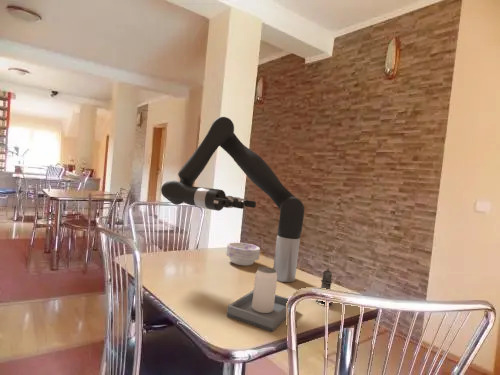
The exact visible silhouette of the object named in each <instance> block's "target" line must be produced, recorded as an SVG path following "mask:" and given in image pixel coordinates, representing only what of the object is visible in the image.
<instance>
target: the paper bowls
mask: <svg viewBox="0 0 500 375" xmlns="http://www.w3.org/2000/svg"><path fill="white" fill-rule="evenodd" d="M225 252H226V253H225V254H226V256H227V257H229V260H230V262H231V263H232V264H235V265H237V266H251V265H253V264H254V263H255V261H258V260H259V259H260V253H261V248H260V247H259V246H257V245H255V244H252V243H247V242H238V241H237V242H235V241H234V242H229V243H227V245H226V251H225Z"/></svg>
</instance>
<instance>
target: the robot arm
mask: <svg viewBox="0 0 500 375" xmlns="http://www.w3.org/2000/svg"><path fill="white" fill-rule="evenodd" d="M206 133H207V134H206V135H205V137H204V138H203V140H202V141H201V143H200V144H199V145H198V147H197V148H196V150H194V151H193V153H192V155H191V156H190V157H189V158H188V159H187V161H186V162H185V163H184V164H183V166H182V167H181V169H179V171H178V173H177V176H178V178H179V181H178V180H177V181H176V180H169V181H166V182H164V183H162V186H161V188H160V192H161V195H162V196H163V197H164V198H165V199H167V201H169V202H170V203H172V204H173V205H175V206H179V205H181V204H183V203H185V204H187V205H190V206H195V207H199V208H202V209H207V210H212V211H218V212H219V211H221V210H223V208H227V209H232V208H234V209H235V208H236V209H242V210H244V209H245V207H247V208H253V209H254V208H256V207H257V206H256V205H257V202H256V201H254V200H248V198H241V197H239V196H238V197H236V196H232V195H226V192H225V191H224V190H223V189H218V188H210V187H202V186H201V187H199V186H194V183H195V182H196V180H197V179H198V177H199V176H200V175H201V174H202V173H203V171H204V169H205V168H206V167H207V165H208V163H209V161H210V160H211V158H212V156H213V155H214V154H215V152H216V151H217V149H219V147H220V148H221V149H223V151H225V153H227V154H228V155H229V156H230V157H231V158H232V159H233V161H234V162H235V163H236V164H237V167H239V169H240V170H241V171H242V172H243V173H244V175H246V176H247V178H248V179H249V180H250V181H251V182H252V183H253V184H254V185H255V186H257V187H258V188H259V190H261V191H262V192H263V193H264V194H266V195H267V196H268V197H269V198H270V199H271V200H272V201H273V203H274V204H275V206H276V207H277V208H278V209H279V220H278V221H279V222H278V227H277V234H276V242H275V251H274V260H273V269H275V270H276V271H277V272H276V274H277V282H283V283H292V282H295V281H296V276H297V275H296V274H297V268H298V267H297V265H298V258H299V251H300V250H299V249H300V241H301V234H302V229H303V224H304V216H305V206H304V203H303V202H302V201H301V200H300V199H299V198H298V197H296V196H295V195H294V194H293V193H292V192H290V190H289V189H287V188H286V187H285V186H284V185H283V183H282V182H281V180H280V179H279V177H278V176H277V175H276V173H275V172H274V171H273V169H272V168H271V167H270V165H269V164H268V163H267V162H266V161H265V160H264V159H263V158H262V157H261V156H260V154H257V153H256V152H255V151H253V150H252V149H250V148H249V147H247V146H246V145H245V144H244V143H243V142H242V141H241V140H240V139H239V138H238V137H237V135H236V133H235V124H234V122H233V121H232V120H231V119H230V118H229V117H226V116H219V117H217V118H215V119H214V121H213V122H212V124H211V125H210V128H209V130H208V132H206Z"/></svg>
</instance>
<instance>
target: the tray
mask: <svg viewBox="0 0 500 375" xmlns="http://www.w3.org/2000/svg"><path fill="white" fill-rule="evenodd" d="M253 292H254V289H253V290H252V291H250V292H248V293H246V294H245V295H243V296H242V297H240V298H239V299H237V300H235V301H233V302H232V303H229V304H228V305H227V309H226V317H228V318H230V319H234V320H236V321H239V322H242V323H245V324H247V325H250V326H252V327H256V328H259V329H263V330H265V331H267V332H270V333H271V332H272V333H273V332H274V331H275V330H276V329H277V328H278V327H279V326H280V325H281V324H282V323H283V322H284V321H285V320H286V319H287V318H286V303H287V301H288V299H289V298H288V297H286V296H285V297H284V296H281V295H279V294H275V301H274V308H273V311H272V312H271V313H267V314H263V313H258V312H256V311H254V310H253V308H252V300H253Z"/></svg>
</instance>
